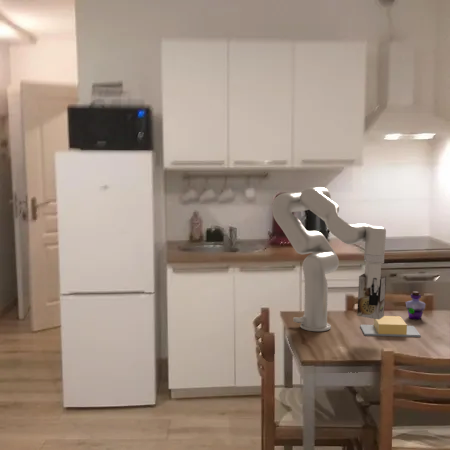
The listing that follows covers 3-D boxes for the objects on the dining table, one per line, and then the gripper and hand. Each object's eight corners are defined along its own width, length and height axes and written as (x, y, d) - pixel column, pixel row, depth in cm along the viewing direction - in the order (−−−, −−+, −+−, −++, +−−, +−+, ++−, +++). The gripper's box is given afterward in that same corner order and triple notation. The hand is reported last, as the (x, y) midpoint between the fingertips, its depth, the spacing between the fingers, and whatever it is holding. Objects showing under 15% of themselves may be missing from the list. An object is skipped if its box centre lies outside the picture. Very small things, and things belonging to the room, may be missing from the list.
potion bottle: (403, 319, 269) (404, 292, 268) (405, 314, 277) (406, 288, 275) (424, 321, 266) (425, 294, 264) (425, 316, 274) (426, 290, 272)
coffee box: (384, 316, 239) (387, 276, 236) (379, 320, 233) (381, 278, 231) (361, 312, 243) (364, 272, 241) (356, 315, 238) (358, 275, 236)
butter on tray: (364, 335, 245) (364, 323, 245) (360, 326, 258) (360, 315, 258) (420, 336, 243) (421, 325, 243) (413, 327, 256) (413, 316, 256)
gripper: (361, 253, 244) (358, 295, 246) (367, 262, 227) (364, 307, 229) (380, 254, 243) (377, 296, 246) (388, 263, 226) (384, 308, 229)
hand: (371, 301), depth 237 cm, fingers closed on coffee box, 8 cm apart
